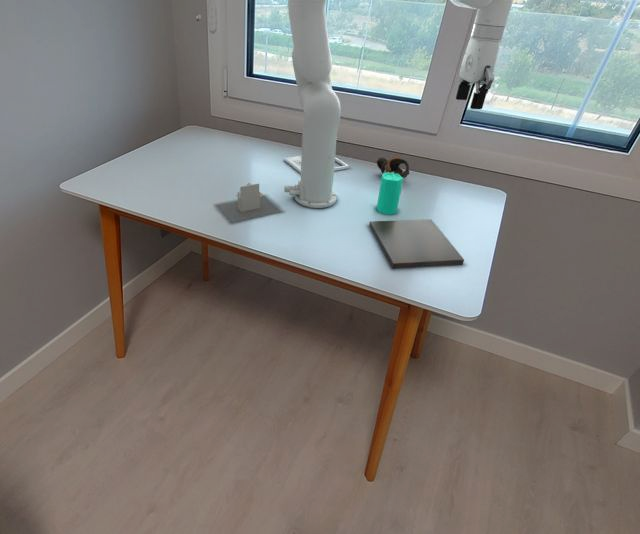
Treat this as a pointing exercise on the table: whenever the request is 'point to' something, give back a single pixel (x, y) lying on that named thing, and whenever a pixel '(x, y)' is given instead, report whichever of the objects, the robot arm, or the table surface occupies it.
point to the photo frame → (296, 163)
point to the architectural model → (248, 205)
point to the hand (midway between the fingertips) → (468, 104)
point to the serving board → (414, 244)
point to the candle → (389, 193)
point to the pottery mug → (393, 166)
